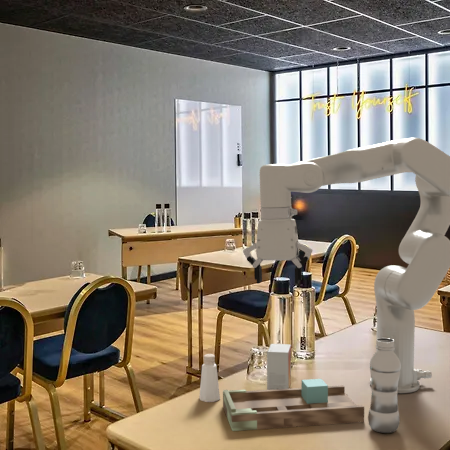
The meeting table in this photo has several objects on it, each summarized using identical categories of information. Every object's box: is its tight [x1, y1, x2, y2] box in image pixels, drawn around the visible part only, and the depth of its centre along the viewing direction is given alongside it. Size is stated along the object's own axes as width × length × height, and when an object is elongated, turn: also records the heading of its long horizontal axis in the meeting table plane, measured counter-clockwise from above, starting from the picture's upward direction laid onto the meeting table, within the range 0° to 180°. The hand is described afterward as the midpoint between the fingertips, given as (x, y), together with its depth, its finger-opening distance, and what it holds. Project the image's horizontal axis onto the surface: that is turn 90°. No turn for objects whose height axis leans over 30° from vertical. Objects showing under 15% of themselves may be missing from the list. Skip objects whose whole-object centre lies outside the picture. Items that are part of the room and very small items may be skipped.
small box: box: [266, 343, 292, 390], centre depth 158 cm, size 8×6×10 cm
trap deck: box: [222, 384, 365, 432], centre depth 141 cm, size 30×14×4 cm, turn 98°
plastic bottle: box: [367, 338, 401, 434], centre depth 131 cm, size 6×7×20 cm
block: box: [300, 378, 329, 404], centre depth 145 cm, size 5×5×4 cm
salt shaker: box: [198, 353, 221, 403], centre depth 151 cm, size 5×5×11 cm
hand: (278, 282), depth 151 cm, fingers open, 9 cm apart
